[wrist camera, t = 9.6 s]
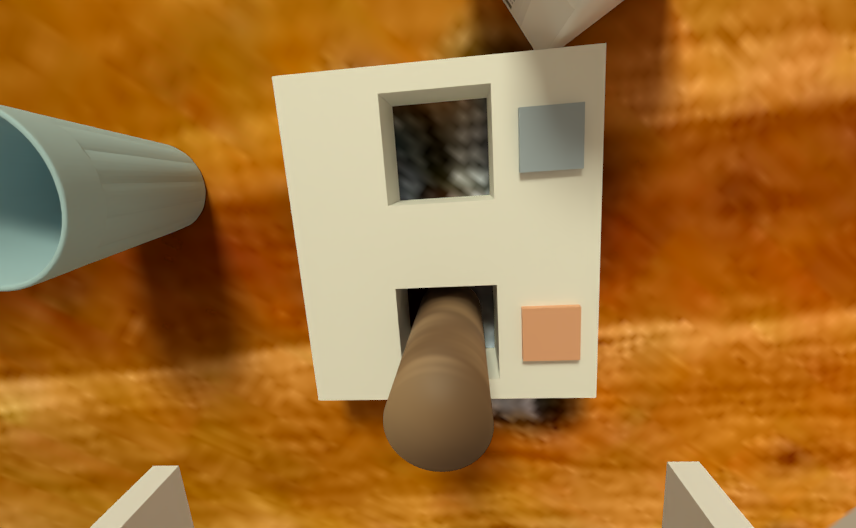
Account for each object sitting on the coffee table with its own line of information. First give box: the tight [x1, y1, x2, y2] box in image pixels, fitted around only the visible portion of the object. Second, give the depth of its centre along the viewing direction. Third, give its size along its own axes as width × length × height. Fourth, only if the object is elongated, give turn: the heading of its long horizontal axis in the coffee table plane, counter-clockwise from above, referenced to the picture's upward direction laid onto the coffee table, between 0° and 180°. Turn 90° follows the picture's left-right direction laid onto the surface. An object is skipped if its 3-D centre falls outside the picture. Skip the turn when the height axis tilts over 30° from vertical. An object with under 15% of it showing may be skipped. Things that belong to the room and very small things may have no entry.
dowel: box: [383, 286, 494, 472], centre depth 20 cm, size 4×4×12 cm
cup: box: [0, 105, 206, 291], centre depth 21 cm, size 8×8×10 cm
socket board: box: [272, 43, 606, 400], centre depth 23 cm, size 16×18×4 cm
